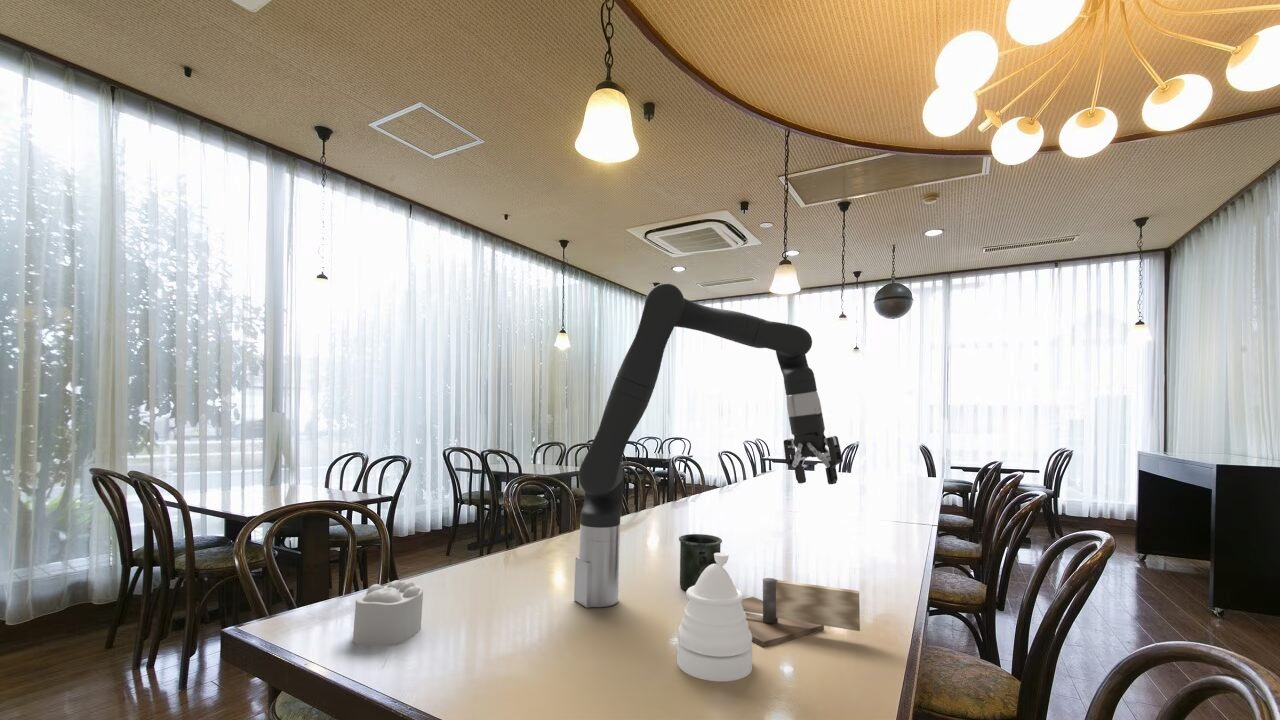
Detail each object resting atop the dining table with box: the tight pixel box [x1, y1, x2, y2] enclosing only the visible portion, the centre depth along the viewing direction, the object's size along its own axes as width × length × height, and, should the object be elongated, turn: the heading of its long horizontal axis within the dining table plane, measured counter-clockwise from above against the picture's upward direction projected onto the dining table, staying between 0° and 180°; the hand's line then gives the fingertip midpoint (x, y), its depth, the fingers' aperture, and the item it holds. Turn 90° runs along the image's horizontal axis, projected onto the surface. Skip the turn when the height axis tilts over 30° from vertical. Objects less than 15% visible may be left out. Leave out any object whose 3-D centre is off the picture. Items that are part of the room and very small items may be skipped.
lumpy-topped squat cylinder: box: [352, 579, 424, 647], centre depth 107 cm, size 10×13×9 cm
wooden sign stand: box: [741, 596, 825, 648], centre depth 116 cm, size 17×20×1 cm
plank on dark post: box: [744, 577, 861, 632], centre depth 112 cm, size 28×3×8 cm, turn 67°
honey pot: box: [676, 552, 753, 682], centre depth 96 cm, size 13×13×18 cm
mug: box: [678, 533, 723, 592], centre depth 137 cm, size 11×15×12 cm
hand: (817, 483), depth 127 cm, fingers open, 8 cm apart
